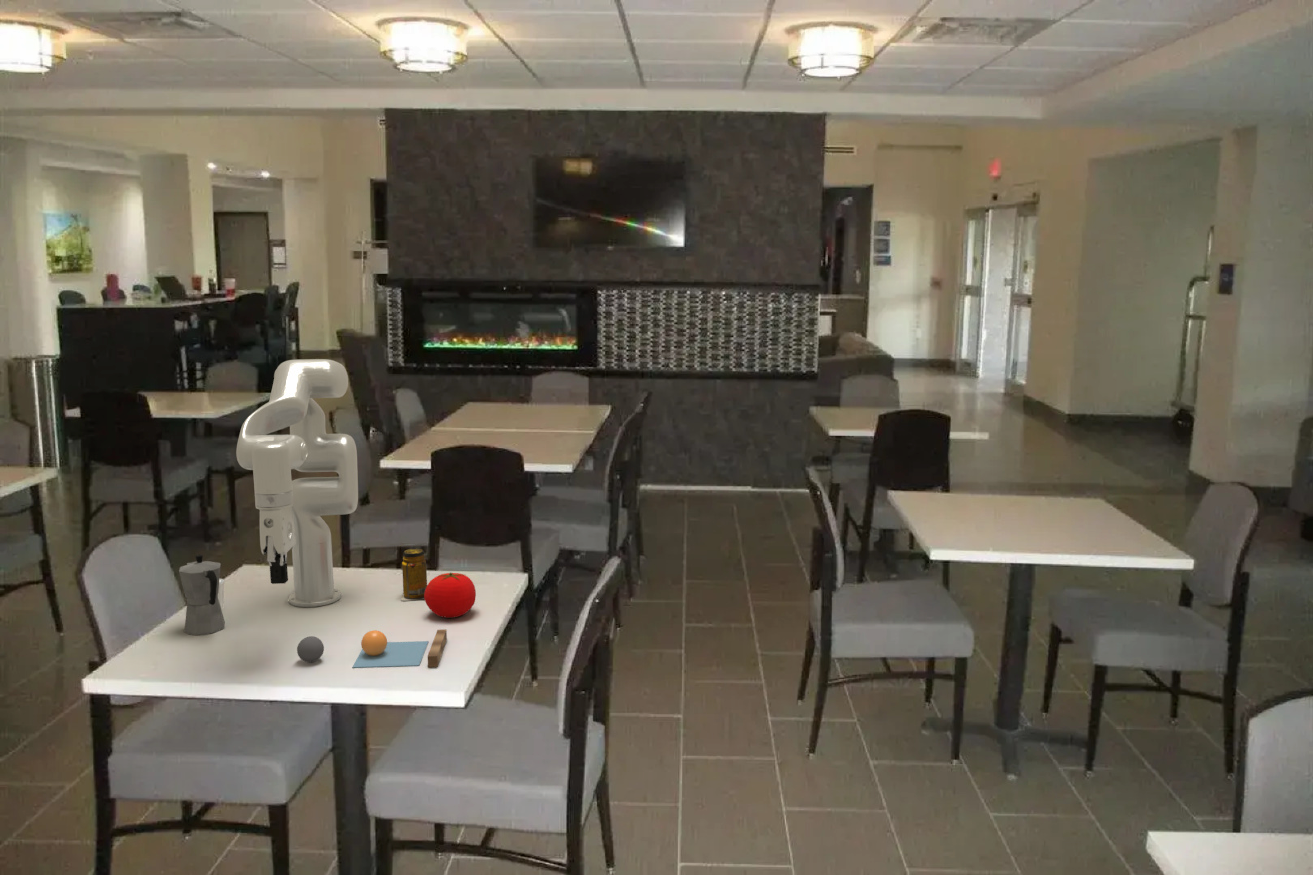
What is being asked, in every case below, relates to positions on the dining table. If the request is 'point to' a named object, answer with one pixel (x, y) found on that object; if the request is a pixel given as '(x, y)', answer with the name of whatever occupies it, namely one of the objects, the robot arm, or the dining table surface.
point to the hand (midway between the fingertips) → (279, 582)
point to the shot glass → (221, 592)
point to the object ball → (374, 643)
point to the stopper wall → (437, 648)
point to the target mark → (394, 655)
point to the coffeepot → (202, 597)
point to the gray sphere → (310, 649)
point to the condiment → (414, 575)
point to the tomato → (450, 595)
